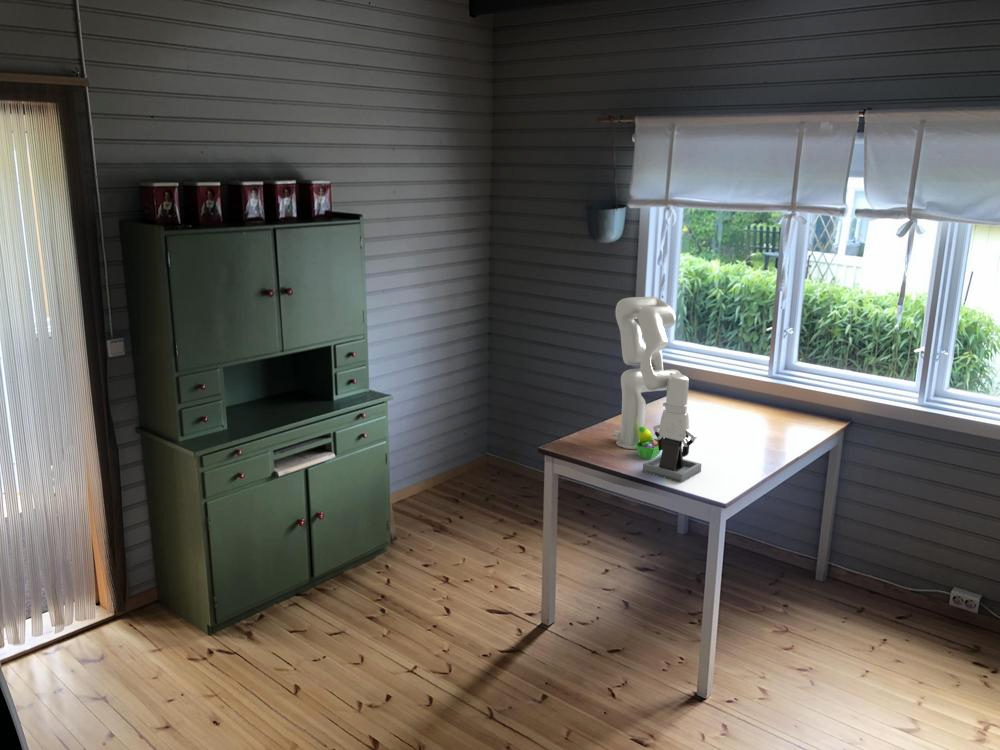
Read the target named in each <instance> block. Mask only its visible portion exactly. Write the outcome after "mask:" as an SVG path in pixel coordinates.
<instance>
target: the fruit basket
mask: <svg viewBox="0 0 1000 750" xmlns="http://www.w3.org/2000/svg"><path fill="white" fill-rule="evenodd" d="M638 433H639V434H638V438H639V440H640V442H639V443H638V444H636V447H637V449H636V450H637V454H638V457H639V456H640V457H639V458H642V457H644V458H643V459H647V458H649V460H652V459H654V458H656V457H657V455H659V454H660V453H661V451H659V447H658V441H659V440H658V439H657V438H653V433H652V432H651V431H650V430H649V429H648V428H647V427H644V426H641V427H640V428H639V430H638Z"/></svg>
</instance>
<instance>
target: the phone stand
mask: <svg viewBox="0 0 1000 750" xmlns="http://www.w3.org/2000/svg"><path fill="white" fill-rule="evenodd" d="M682 449H683V443H682V441H676V440H672V439H668V438H664V445H663V450H661V454H660V455H661V459H660V464H659V467H660V468H664V469H668V470H671V471H675V472H677V471H679V470H680V469H682V468H683V467H684V466H683V459H684V457H682Z"/></svg>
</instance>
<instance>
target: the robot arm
mask: <svg viewBox="0 0 1000 750" xmlns="http://www.w3.org/2000/svg"><path fill="white" fill-rule="evenodd" d="M615 319H616V323H617V326H618V329H619V333H620V343H621V354H622V359H623V362H624V364H625V365H628V366H639V367H640V368H630V369H627V370H625V371H623V373H622V374H621V376H620V387H621V396H622V397H621V398H622V399H621V420H620V430H617V429H614V430H613V432H612V436H613V437H617V439H616V442H615V443H616V445H617V446H618V447H620V448H622V447H623V449H627V450H637V447H636V444H638V443H639V442H640V440H639V438H638V434H639V433H638V430H639V428H640V427H641V426H644V427H645V425H646V409H647V408H646V407H647V403H646V400H645V398H644V397H643V395H642V393H648V392H657V391H658V392H659V391H660V392H661V391H666V399H665V402H663V403H662V406H663V407H664V410H663V411H662V413H661V417H660V421H659V422H660V423H659V424H656V425H654V426H653V427H652V430H653V432H654V435H655V436H656V439H658V440H659V441H658V447H659V451H660V452H662V450H663V445H664V438H668V439H672V440H676V441H682V457H683V458H685V457H686V456H689V452H690V446H691V445H692V444H694V442H695V440H696V439H697V438H698V437H697V435H696V434H695V433H693V432H692V431H691V430H690V420H689V419H690V418H689V413H688V412H687V411H688V410H687V409H688V396H689V383H690V380H689V378H688V377H687V375H685V374H682V373H681V372H680V371H679V370H677V369H664V362H663V361H664V359H663V351H662V350H664V349H666V348H667V346H668V345H669V340H668V337H667V333H666V331H665V328H671V327H673V326H674V325H675V324H676V319H677V318H676V313H675V311H674V310H673V308H672V307H671V305H669V303H667V302H665V301H664V300H662V299H661V298H659V297H656V296H635V297H633V296H632V297H626V298H622V299H620V300H619V301H618V302H617V304H616V306H615ZM635 319H636V320H638V322H637V321H636V320H635ZM689 437H690V439H689Z"/></svg>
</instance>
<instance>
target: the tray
mask: <svg viewBox="0 0 1000 750" xmlns="http://www.w3.org/2000/svg"><path fill="white" fill-rule="evenodd" d="M660 459H661V454H660V455H658V456H655V457H653V458H652V459H649V461H646V462H644V463H643V464H642V472H643V471H644V472H643V473H646V472H647V473H646V474H649V473H651V474H650V475H653V474H655V475H654V476H656V475H658V476H657V477H660V476H661V478H663V477H665V478H664V479H667V480H670V479H671V480H670V481H674V482H678V483H683V482H685V481H687V480H688V479H690V478H692V477H693V476H695V475H698V474H699V473H701V472H702V463H700V462H697V461H692V460H689V459H685V458H683V466H684V467H683V468H682V469H680V470H679V471H677V472H675V471H671V470H668V469H664V468H660V467H659V464H660Z"/></svg>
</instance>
